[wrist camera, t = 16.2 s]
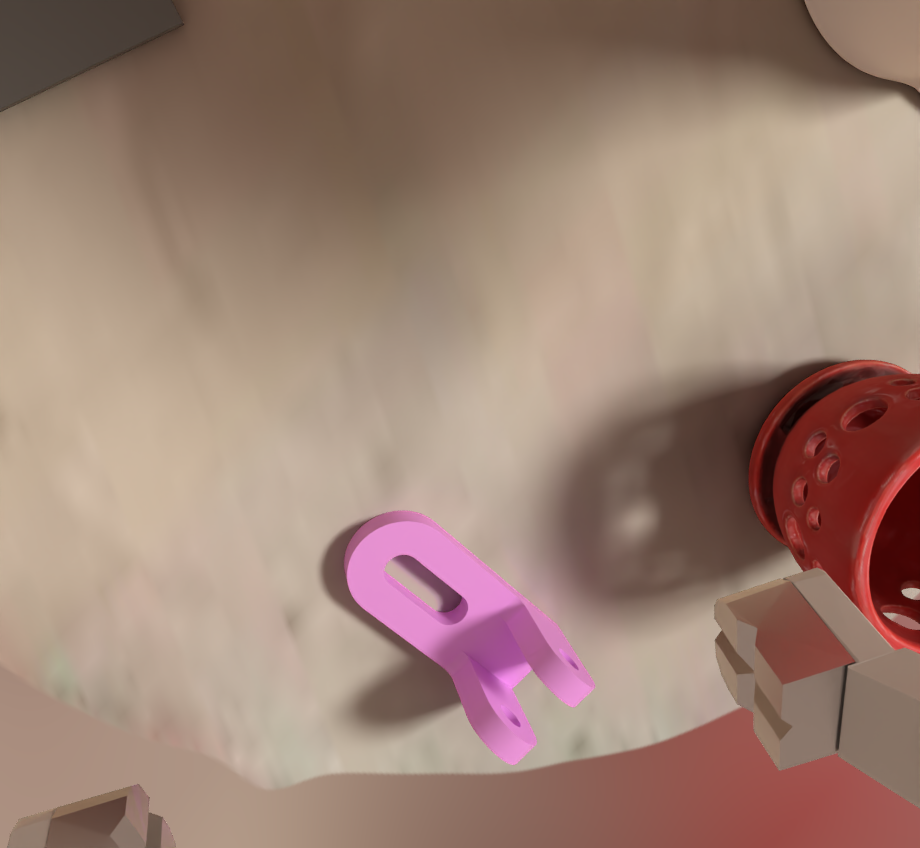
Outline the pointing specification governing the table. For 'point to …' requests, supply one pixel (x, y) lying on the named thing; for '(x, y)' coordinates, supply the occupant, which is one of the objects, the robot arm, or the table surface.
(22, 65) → the pad
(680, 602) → the table surface
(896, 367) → the plant pot
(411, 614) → the bracket
